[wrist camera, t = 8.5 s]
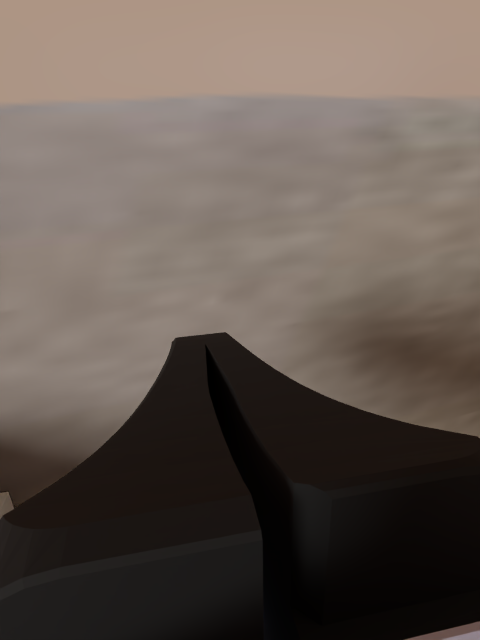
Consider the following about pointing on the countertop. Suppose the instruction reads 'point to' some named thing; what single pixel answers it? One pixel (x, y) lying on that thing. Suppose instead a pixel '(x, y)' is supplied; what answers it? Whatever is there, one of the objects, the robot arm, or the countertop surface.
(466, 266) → the countertop surface
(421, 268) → the countertop surface
